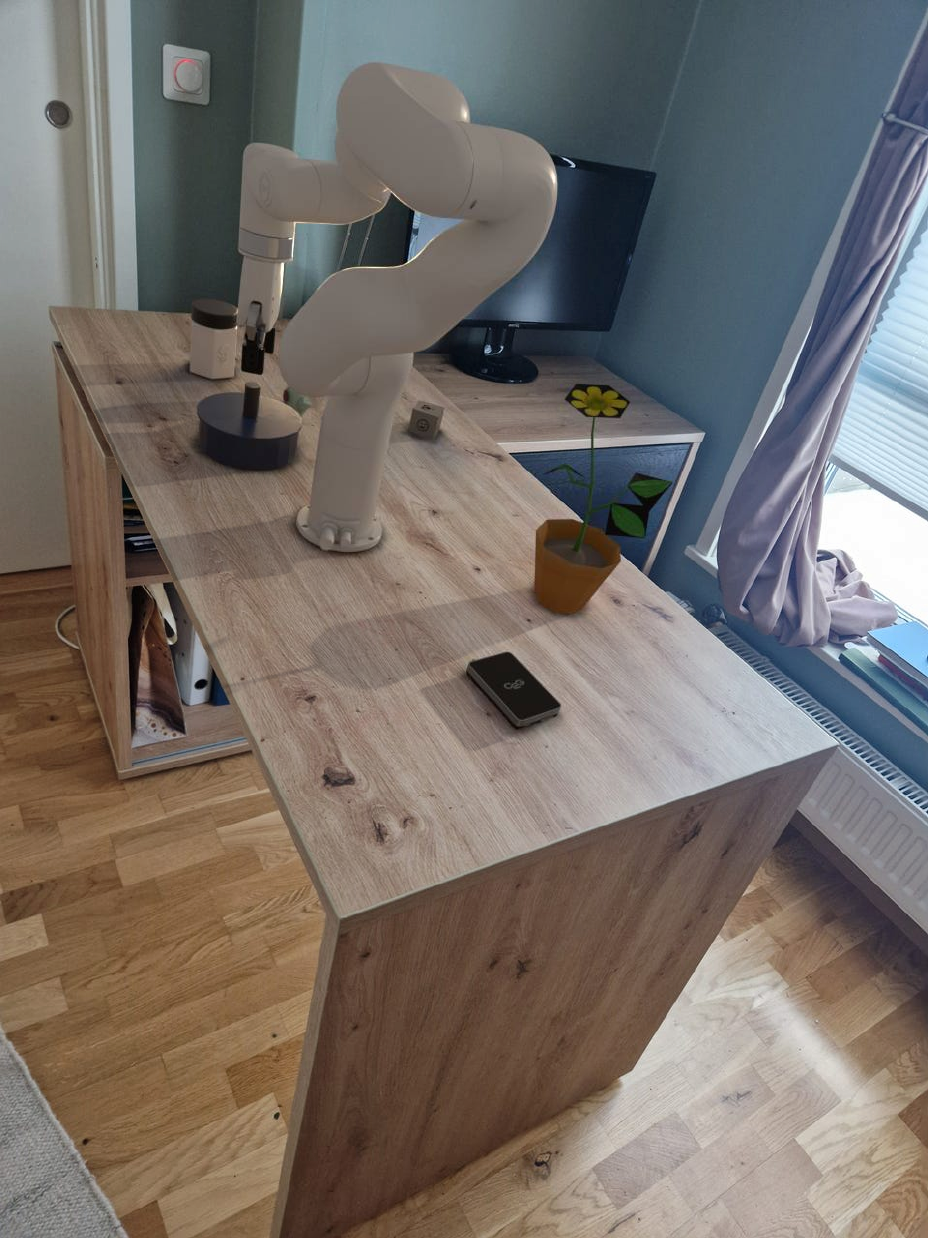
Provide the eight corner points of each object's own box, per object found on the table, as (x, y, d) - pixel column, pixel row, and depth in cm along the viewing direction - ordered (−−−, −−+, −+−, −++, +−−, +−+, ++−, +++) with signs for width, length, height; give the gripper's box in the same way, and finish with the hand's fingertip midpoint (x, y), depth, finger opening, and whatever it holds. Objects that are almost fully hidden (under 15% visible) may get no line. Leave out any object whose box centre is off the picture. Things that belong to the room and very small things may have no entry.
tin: (288, 478, 130) (291, 448, 127) (188, 458, 128) (189, 427, 125) (301, 437, 143) (305, 408, 140) (210, 418, 140) (212, 389, 137)
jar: (201, 381, 151) (204, 316, 144) (178, 363, 155) (180, 299, 148) (244, 377, 157) (249, 314, 150) (221, 359, 161) (225, 297, 154)
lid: (293, 453, 127) (298, 416, 124) (185, 431, 125) (186, 393, 121) (307, 411, 140) (311, 377, 137) (209, 390, 138) (211, 355, 134)
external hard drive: (515, 734, 96) (519, 722, 95) (461, 674, 102) (465, 661, 101) (558, 718, 100) (563, 706, 99) (504, 661, 106) (508, 649, 105)
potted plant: (477, 567, 123) (532, 375, 105) (581, 562, 131) (649, 383, 113) (529, 644, 110) (602, 441, 93) (641, 633, 119) (727, 445, 101)
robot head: (312, 430, 146) (317, 394, 142) (291, 431, 143) (295, 394, 139) (293, 409, 150) (298, 374, 147) (272, 410, 148) (276, 374, 144)
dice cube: (414, 424, 158) (419, 399, 155) (438, 431, 158) (444, 407, 155) (407, 433, 154) (412, 408, 151) (432, 441, 154) (438, 416, 151)
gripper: (250, 226, 123) (243, 339, 133) (226, 251, 109) (220, 376, 119) (300, 237, 124) (290, 349, 134) (283, 264, 110) (273, 386, 120)
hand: (257, 361), depth 126 cm, fingers open, 9 cm apart
